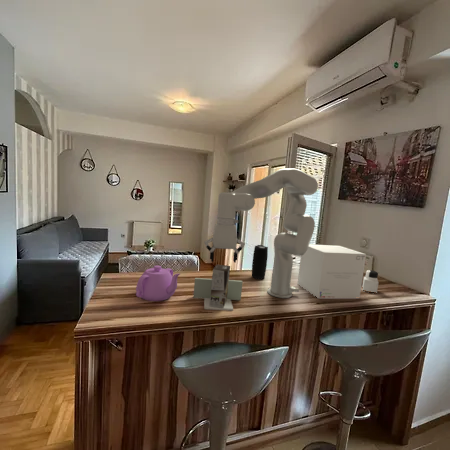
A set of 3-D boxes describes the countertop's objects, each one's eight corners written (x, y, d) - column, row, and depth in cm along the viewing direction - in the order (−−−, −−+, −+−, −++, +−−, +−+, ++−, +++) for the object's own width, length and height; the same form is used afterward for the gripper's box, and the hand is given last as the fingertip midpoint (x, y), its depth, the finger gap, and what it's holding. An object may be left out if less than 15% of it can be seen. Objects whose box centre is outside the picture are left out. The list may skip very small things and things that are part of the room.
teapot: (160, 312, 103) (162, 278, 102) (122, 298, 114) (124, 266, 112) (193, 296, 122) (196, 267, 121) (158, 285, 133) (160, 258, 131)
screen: (240, 299, 124) (242, 280, 123) (240, 300, 123) (242, 281, 122) (193, 296, 122) (194, 277, 121) (193, 297, 121) (194, 278, 120)
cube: (317, 299, 135) (324, 252, 132) (297, 284, 155) (302, 243, 153) (359, 299, 141) (366, 254, 138) (334, 285, 161) (339, 245, 159)
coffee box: (224, 308, 111) (227, 271, 109) (209, 306, 112) (212, 268, 110) (227, 300, 120) (230, 265, 118) (213, 298, 121) (216, 263, 119)
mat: (230, 301, 121) (230, 299, 121) (232, 310, 111) (233, 308, 111) (204, 299, 120) (204, 297, 120) (204, 309, 110) (204, 307, 110)
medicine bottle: (375, 290, 157) (378, 270, 155) (376, 294, 150) (380, 273, 149) (362, 287, 160) (365, 268, 158) (362, 291, 153) (365, 271, 152)
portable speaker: (251, 279, 156) (255, 246, 154) (250, 274, 165) (253, 244, 163) (266, 280, 156) (269, 248, 154) (264, 275, 165) (267, 245, 163)
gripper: (244, 221, 116) (241, 259, 118) (205, 219, 114) (203, 258, 117) (247, 224, 109) (244, 264, 111) (205, 222, 107) (203, 263, 109)
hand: (223, 261), depth 114 cm, fingers open, 9 cm apart
